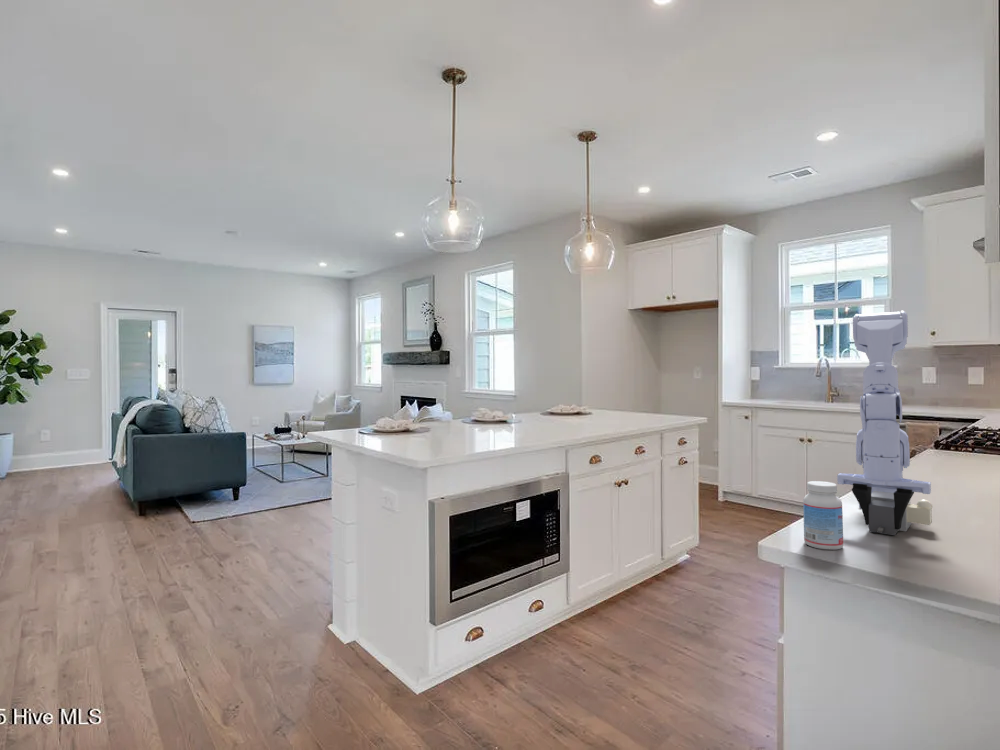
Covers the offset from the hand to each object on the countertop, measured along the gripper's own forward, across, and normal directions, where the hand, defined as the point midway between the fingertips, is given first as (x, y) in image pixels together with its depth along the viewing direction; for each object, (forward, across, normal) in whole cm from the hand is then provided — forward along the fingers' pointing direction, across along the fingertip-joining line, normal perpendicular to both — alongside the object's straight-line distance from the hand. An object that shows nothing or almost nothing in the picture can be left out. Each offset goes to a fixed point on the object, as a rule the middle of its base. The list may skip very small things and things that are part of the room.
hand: (883, 525), depth 102 cm
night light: (0, +5, +7) cm, 9 cm away
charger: (+1, 0, +1) cm, 2 cm away
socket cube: (+1, 0, +7) cm, 7 cm away
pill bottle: (+2, -6, -15) cm, 16 cm away
